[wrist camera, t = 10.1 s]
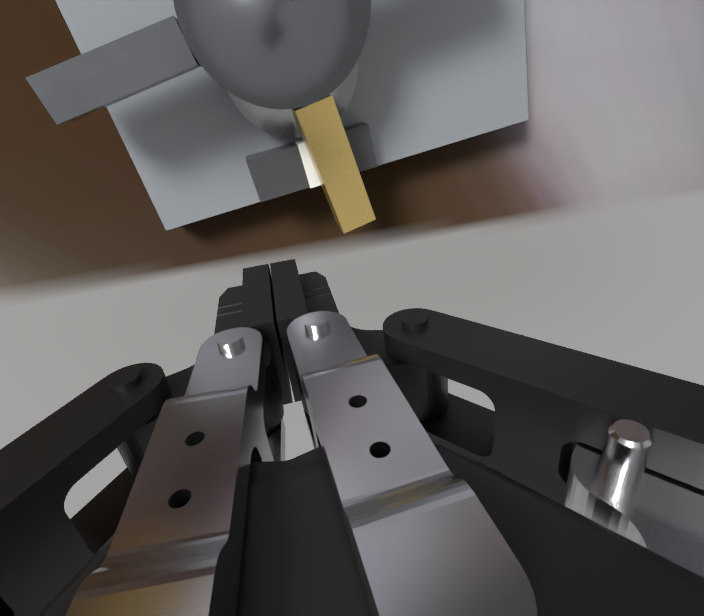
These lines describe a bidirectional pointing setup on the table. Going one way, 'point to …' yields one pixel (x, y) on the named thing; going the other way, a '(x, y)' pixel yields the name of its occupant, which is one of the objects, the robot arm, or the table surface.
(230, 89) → the valve handle
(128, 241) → the table surface
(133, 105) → the stand
